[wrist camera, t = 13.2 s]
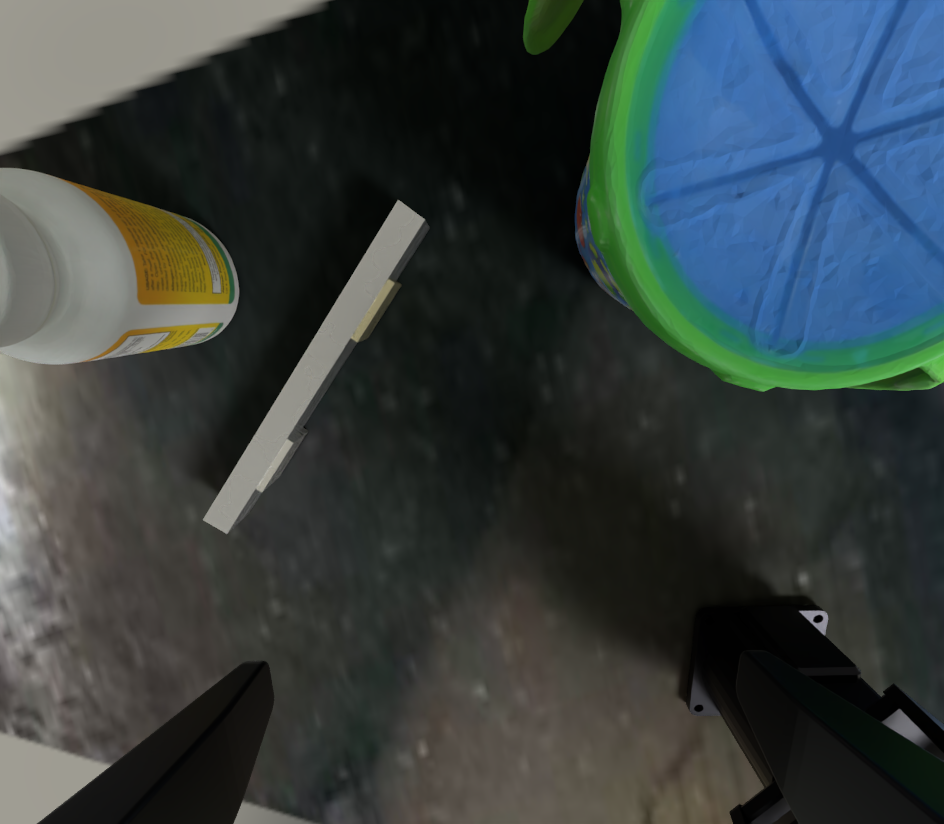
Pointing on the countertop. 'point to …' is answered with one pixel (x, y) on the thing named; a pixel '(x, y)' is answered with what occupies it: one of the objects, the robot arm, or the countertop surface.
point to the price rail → (320, 365)
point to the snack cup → (772, 185)
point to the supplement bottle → (103, 274)
